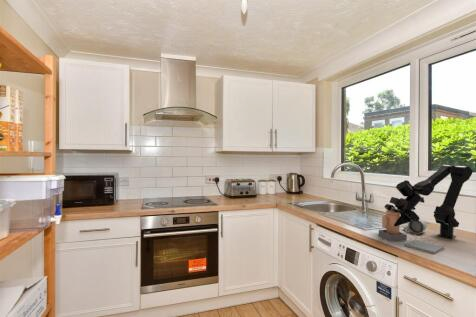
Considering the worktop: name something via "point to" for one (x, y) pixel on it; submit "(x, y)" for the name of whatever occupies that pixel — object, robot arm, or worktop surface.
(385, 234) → the holder
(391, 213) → the peach rounded cylinder
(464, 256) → the worktop surface
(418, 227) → the ceramic mug
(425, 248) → the mat
